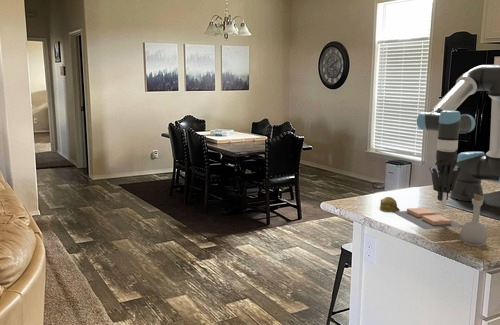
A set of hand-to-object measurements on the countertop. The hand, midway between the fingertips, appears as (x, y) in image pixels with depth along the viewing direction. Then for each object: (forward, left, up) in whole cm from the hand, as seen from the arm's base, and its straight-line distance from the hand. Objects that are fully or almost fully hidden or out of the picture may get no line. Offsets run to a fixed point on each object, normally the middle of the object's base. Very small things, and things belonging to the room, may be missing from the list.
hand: (441, 208), depth 187 cm
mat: (+3, -5, -6) cm, 9 cm away
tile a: (-2, -11, -5) cm, 12 cm away
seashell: (+11, -21, -7) cm, 25 cm away
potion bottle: (+3, +23, -7) cm, 24 cm away
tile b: (-2, 0, -5) cm, 5 cm away
